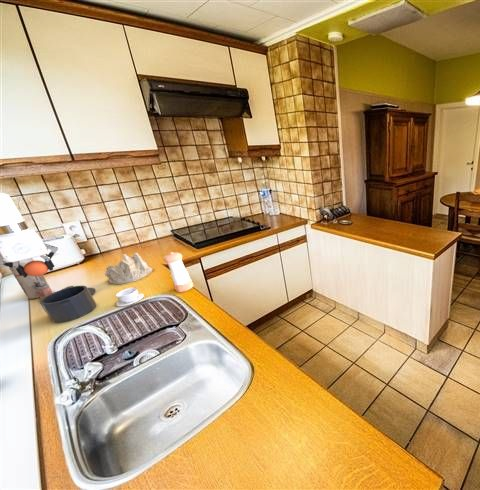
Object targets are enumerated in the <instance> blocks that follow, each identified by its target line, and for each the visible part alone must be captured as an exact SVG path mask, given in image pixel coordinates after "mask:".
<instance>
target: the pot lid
mask: <svg viewBox="0 0 480 490" xmlns="http://www.w3.org/2000/svg"><path fill="white" fill-rule="evenodd" d="M74 286H75V285H69V286H68V285H67V286H66V287H65V288H67V287H74ZM87 288H88V290H89V292H90V293H91V295H92V296H93V295H94V294H95V293H96V291H97V290H96V288H94V287H87Z"/></svg>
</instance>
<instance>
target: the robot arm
mask: <svg viewBox="0 0 480 490" xmlns="http://www.w3.org/2000/svg"><path fill="white" fill-rule="evenodd" d="M48 250H50V251H49V253H48ZM58 250H59V247H57V246H54V245H51V244H49V243H48V244H47V243H45V242H44V241H43V239H42V238H41V237H40V236H39V234H38V233H37V232H36V231H35V230H34V229H33V228H32V227H29V226H28V224H27V222H26V221H25V219H24V218H23V216H22V214H21V212H20V211H19V209H18V208H17V206H16V204H15V202H14V201H13V199H12V198H11V196H10V195H9V194H7V193H5V192H0V265H1V266H4V267H8V268H9V267H11V268H14V269H16V270H17V272H18V273H19V275H20V276H21V275H23V277H24V278H25V277H27V276H28V275H27V274H26V273H25V272H24V270H23V268H24V267H23V266H22V265H19V261H21V260H25V259H29V258H32V259H34V258H37V257H40V258H42V259H43V260H44V262H45V264H46V265H47V267H48V271H53V270H54V268H55V265H54V263H53V261H52V258H53V257H54V256H55V254H56V253H57V251H58ZM47 253H48V254H47ZM11 262H13V263H11Z"/></svg>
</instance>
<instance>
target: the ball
mask: <svg viewBox="0 0 480 490" xmlns="http://www.w3.org/2000/svg"><path fill="white" fill-rule="evenodd" d="M23 270H24V272H25V273H26V274H27V275H30V276H41V275H43V276H44V275H46V273H48V272H49V269H48V267H47V265H46V264H45V261H44V260H43V261H42V260H34V261H31V262H28V263H27V264H26V265H25V266H24V268H23Z"/></svg>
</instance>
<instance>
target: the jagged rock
mask: <svg viewBox="0 0 480 490" xmlns="http://www.w3.org/2000/svg"><path fill="white" fill-rule="evenodd" d="M153 271H154V270H153V268H152V267H151V265H150V266H149V265H148V263H147V260H145V259H144V258H142V257H141V255H140V254H139V253H138V252H134V253H133V256H129V255H128V254H126V253H123V254H122V259H121V260H120V262H119V263H118V264H116V265H114V266H113V265H112V264H110V265H108V267H107V268H106V270H105V272H104V276H105V277H107V279H108V282H109V284H112V285H123V284H129V283H133V282H136V281H139V280H142V279H143V278H145V277H146V276H148V275H149V274H151V273H152V272H153Z"/></svg>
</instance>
